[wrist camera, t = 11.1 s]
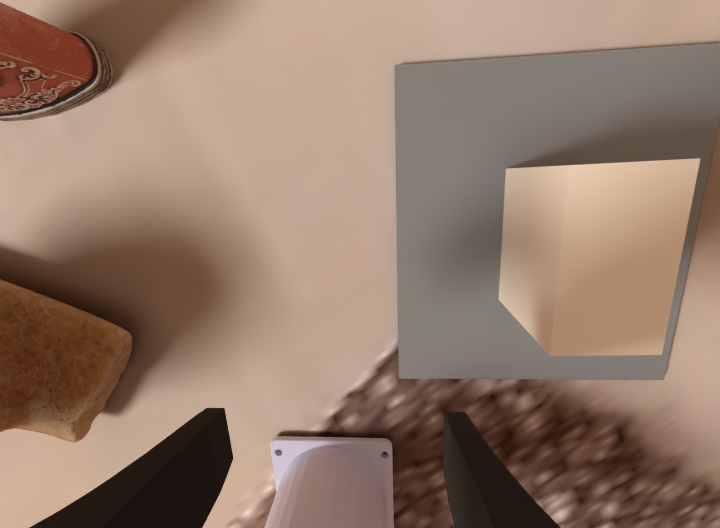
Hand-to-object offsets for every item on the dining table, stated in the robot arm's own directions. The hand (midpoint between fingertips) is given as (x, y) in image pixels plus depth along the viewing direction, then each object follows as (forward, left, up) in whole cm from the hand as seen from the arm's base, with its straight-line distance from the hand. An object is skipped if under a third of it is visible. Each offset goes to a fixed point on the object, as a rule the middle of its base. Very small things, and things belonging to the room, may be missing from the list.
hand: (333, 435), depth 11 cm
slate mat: (+5, -10, -9) cm, 14 cm away
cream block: (+5, -10, -9) cm, 14 cm away
